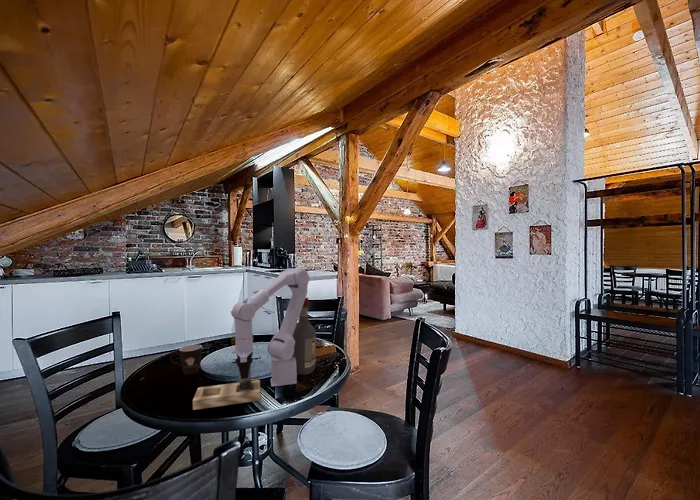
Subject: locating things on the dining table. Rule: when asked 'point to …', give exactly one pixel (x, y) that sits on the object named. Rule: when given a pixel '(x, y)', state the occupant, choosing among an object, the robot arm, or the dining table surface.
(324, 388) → the dining table surface
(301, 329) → the liquor
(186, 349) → the coffee mug
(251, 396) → the block
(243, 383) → the drill rod
